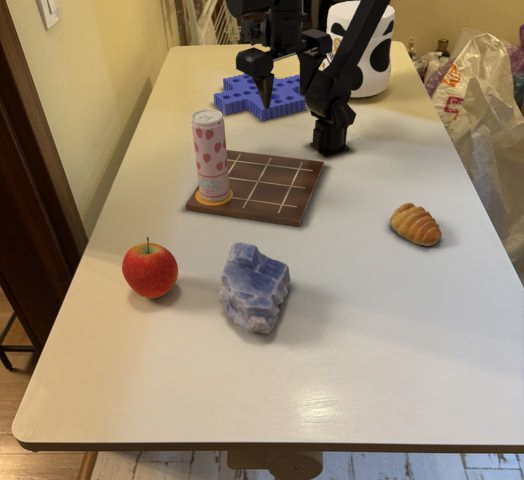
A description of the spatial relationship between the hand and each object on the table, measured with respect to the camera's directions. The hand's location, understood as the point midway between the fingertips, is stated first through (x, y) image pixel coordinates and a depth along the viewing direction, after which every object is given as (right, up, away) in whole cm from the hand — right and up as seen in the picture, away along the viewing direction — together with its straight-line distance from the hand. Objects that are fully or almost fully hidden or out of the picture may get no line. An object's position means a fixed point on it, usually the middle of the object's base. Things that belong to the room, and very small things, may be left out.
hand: (284, 101), depth 99 cm
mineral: (-6, -41, -19) cm, 46 cm away
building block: (-4, +16, +32) cm, 36 cm away
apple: (-21, -38, -16) cm, 47 cm away
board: (-5, -15, +4) cm, 17 cm away
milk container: (+19, +19, +34) cm, 43 cm away
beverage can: (-13, -18, 0) cm, 22 cm away
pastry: (+23, -26, -7) cm, 36 cm away
